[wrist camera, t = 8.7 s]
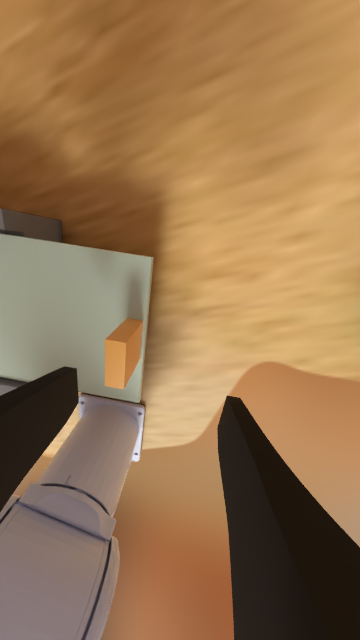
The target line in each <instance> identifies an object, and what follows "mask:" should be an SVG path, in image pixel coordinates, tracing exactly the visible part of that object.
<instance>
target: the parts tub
mask: <svg viewBox="0 0 360 640" xmlns="http://www.w3.org/2000/svg"><path fill="white" fill-rule="evenodd" d="M0 233H3V234H9V235H16V236H22V237H29V238H35V239H41V240H48V241H54V242H60V243H63V240H62V226H61V221H60V220H56V219H51V218H46V217H41V216H36V215H31V214H26V213H22V212H17V211H12V210H7V209H2V208H0ZM27 383H29V382H24V381H18V380H13V379H8V378H2V377H0V395H3V394H5V393H7V392H10V391H12V390H14V389H16V388H18V387H20V386H22V385H25V384H27Z"/></svg>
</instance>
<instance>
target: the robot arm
mask: <svg viewBox="0 0 360 640" xmlns="http://www.w3.org/2000/svg"><path fill="white" fill-rule="evenodd" d="M78 402H79V417H80V420H79V422H78V423H77V425H76V426H75V427H74V429H73V430H72V432H71V433H70V435H69V436H68V437H67V439H66V440H65V442H64V443H63V445H62V446H61V447H60V449H59V450H58V452H57V453H56V455H55V456H54V457H53V459H52V460H51V462H50V463H49V465H48V466H47V468H46V469H45V470H44V472H43V473H42V475H41V476H40V477H39V479H38V480H37V482H36V483H31V485H30V486H29V487H28V489H27V490H26V491H25V493H24V494H23V496H22V497H20V496H18V495H16V494H14V495H12V494H13V493H14V491H15V490H16V488H17V487H18V485H19V484H20V483H21V481H22V480H23V478H24V477H25V476H26V474H27V473H28V472H29V470H30V469H31V468H32V467H33V465H34V464H35V463H36V461H37V460H38V459H39V458H40V456H41V455H42V454H43V452H44V451H45V450H46V449H47V447H48V446H49V445H50V443H51V442H52V441H53V439H54V438H55V437H56V436H57V434H58V433H59V432H60V430H61V429H62V428H63V426H64V425H65V424H66V422H67V421H68V419H69V417H70V416H71V414H72V413H73V411H74V409H75V407H76V406H77V404H78ZM140 412H141V413H140ZM144 415H145V407H144V406H143V405H139V404H133V403H128V402H123V401H117V400H112V399H107V398H101V397H96V396H90V395H85V394H82V395H80V396H79V397H78V379H77V368H72V367H66V366H64V367H61V368H59V369H57V370H55V371H52V372H50V373H48V374H46V375H44V376H42V377H40V378H37V379H35V380H33V381H31V382H29V383H27V384H25V385H22V386H20V387H18V388H16V389H14V390H12V391H10V392H7V393H5V394H3V395H0V640H101V637H102V634H103V631H104V628H105V624H106V621H107V618H108V614H109V611H110V607H111V604H112V600H113V596H114V592H115V587H116V583H117V578H118V571H119V563H120V556H119V549H118V541H117V539H116V538H115V537H113V536H112V533H113V529H114V526H115V523H116V519H114V518H112V517H113V515H114V513H115V510H116V507H117V504H118V501H119V498H120V495H121V491H122V488H123V485H124V482H125V479H126V476H127V473H128V470H129V466H130V463H131V461H139V459H140V454H141V444H142V434H143V425H144ZM218 454H219V462H220V468H221V477H222V483H223V490H224V499H225V505H226V513H227V522H228V531H229V546H230V562H231V578H232V599H233V618H234V640H360V547H359V546H358V545H357V544H356V543H355V542H354V541H353V540H352V539H351V538H350V537H349V536H348V534H346V532H345V531H344V530H343V529H342V528H340V526H339V525H338V524H337V523H336V522H335V521H334V520H333V518H332V517H331V516H330V515H329V514H328V513H327V512H326V511H325V510H324V509H323V507H322V506H321V505H320V504H319V503H318V502H317V501H316V499H315V498H314V497H313V496H312V495H311V494H310V492H309V491H308V490H307V489H306V488H305V487H304V485H302V483H301V482H300V481H299V479H298V478H297V477H296V476H295V474H294V473H293V472H292V471H291V470H290V468H289V467H288V466H287V464H286V463H285V462H284V460H283V459H282V458H281V457H280V455H279V454H278V453H277V451H276V450H275V449H274V447H273V446H272V444H271V443H270V441H269V440H268V439H267V437H266V436H265V434H264V433H263V432H262V430H261V429H260V427H259V426H258V424H257V423H256V421H255V420H254V418H253V417H252V415H251V414H250V412H249V411H248V409H247V408H246V406H245V405H244V403H243V402H242V400H241V399H240V398H237V397H232V396H227V397H226V401H225V404H224V407H223V412H222V414H221V418H220V421H219V425H218Z"/></svg>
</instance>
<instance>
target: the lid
mask: <svg viewBox="0 0 360 640" xmlns="http://www.w3.org/2000/svg"><path fill="white" fill-rule="evenodd" d="M153 260H154V257H150V256H143V255H137V254H131V253H124V252H118V251H111V250H105V249H99V248H92V247H86V246H80V245H73V244H67V243H60V242H54V241H48V240H41V239H35V238H29V237H22V236H16V235H9V234H3V233H0V377H2V378H8V379H13V380H18V381H24V382H31V381H33V380H35V379H37V378H40V377H42V376H44V375H46V374H48V373H50V372H52V371H55V370H57V369H59V368H61V367H64V366H66V367H72V368H77V379H78V392H83V393H88V394H94V395H99V396H104V397H110V398H115V399H121V400H126V401H131V402H137V403H139V402H140V399H141V393H142V382H143V371H144V360H145V349H146V338H147V327H148V315H149V304H150V293H151V282H152V271H153Z"/></svg>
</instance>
